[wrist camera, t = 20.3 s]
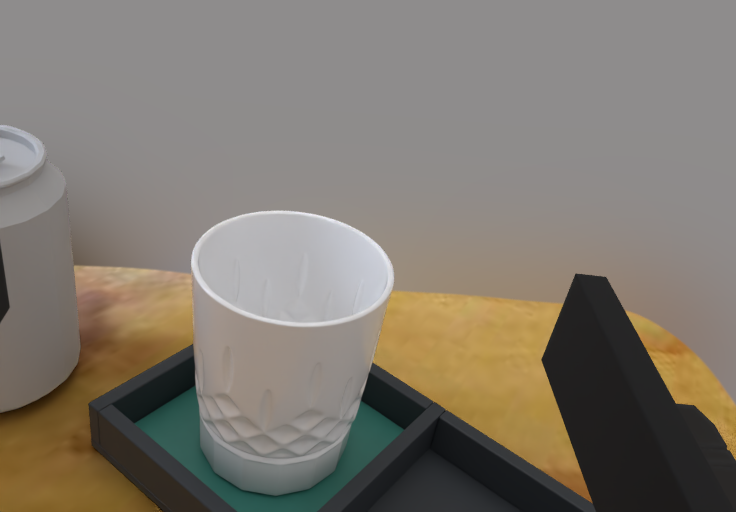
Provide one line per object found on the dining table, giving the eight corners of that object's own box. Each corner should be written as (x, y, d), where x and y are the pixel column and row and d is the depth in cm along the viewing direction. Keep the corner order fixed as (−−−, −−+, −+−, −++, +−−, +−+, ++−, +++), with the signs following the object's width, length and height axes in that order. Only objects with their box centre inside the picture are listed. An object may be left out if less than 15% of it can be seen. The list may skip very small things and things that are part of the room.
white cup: (282, 357, 38) (302, 193, 32) (391, 448, 34) (434, 277, 28) (152, 426, 32) (149, 243, 27) (261, 543, 28) (284, 356, 23)
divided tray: (91, 445, 32) (87, 402, 30) (269, 335, 40) (272, 297, 38) (521, 839, 22) (547, 804, 20) (641, 587, 30) (665, 549, 29)
